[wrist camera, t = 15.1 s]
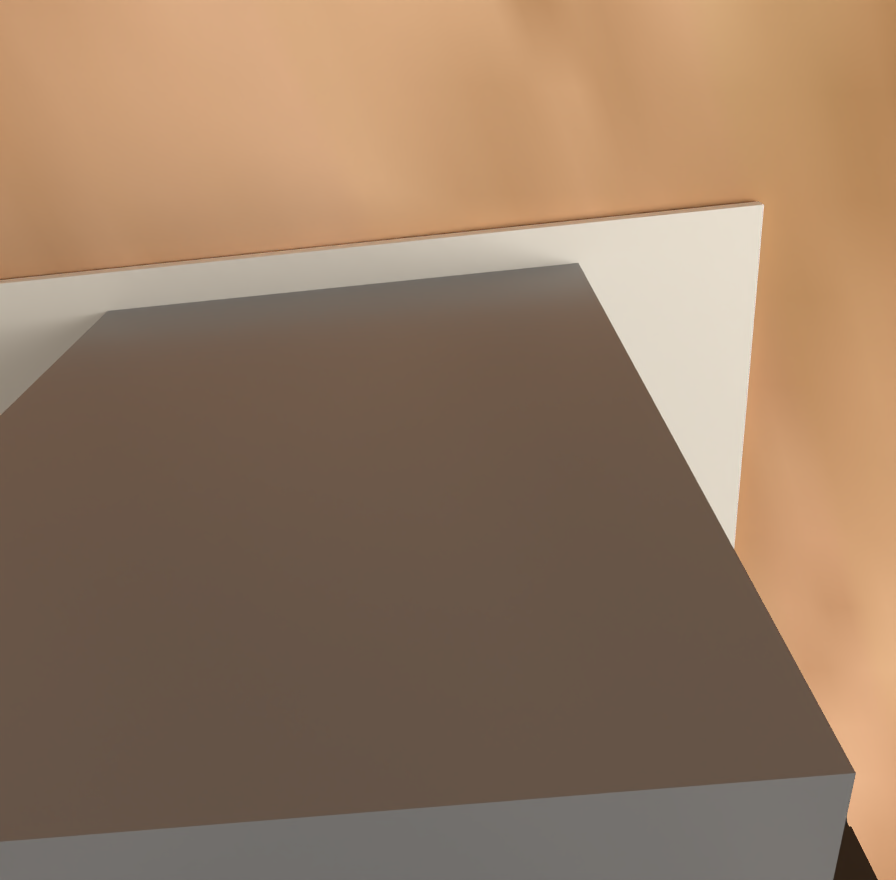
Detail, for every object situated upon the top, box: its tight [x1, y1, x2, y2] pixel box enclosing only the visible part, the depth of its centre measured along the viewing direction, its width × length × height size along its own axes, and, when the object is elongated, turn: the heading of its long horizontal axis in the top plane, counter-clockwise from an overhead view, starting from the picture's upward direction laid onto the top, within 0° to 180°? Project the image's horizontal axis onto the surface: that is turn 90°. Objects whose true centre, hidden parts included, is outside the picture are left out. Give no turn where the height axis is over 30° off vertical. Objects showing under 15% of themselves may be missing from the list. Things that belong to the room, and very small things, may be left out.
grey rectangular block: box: [0, 263, 856, 880], centre depth 11 cm, size 11×7×9 cm, turn 6°
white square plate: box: [0, 201, 764, 548], centre depth 14 cm, size 12×12×1 cm
